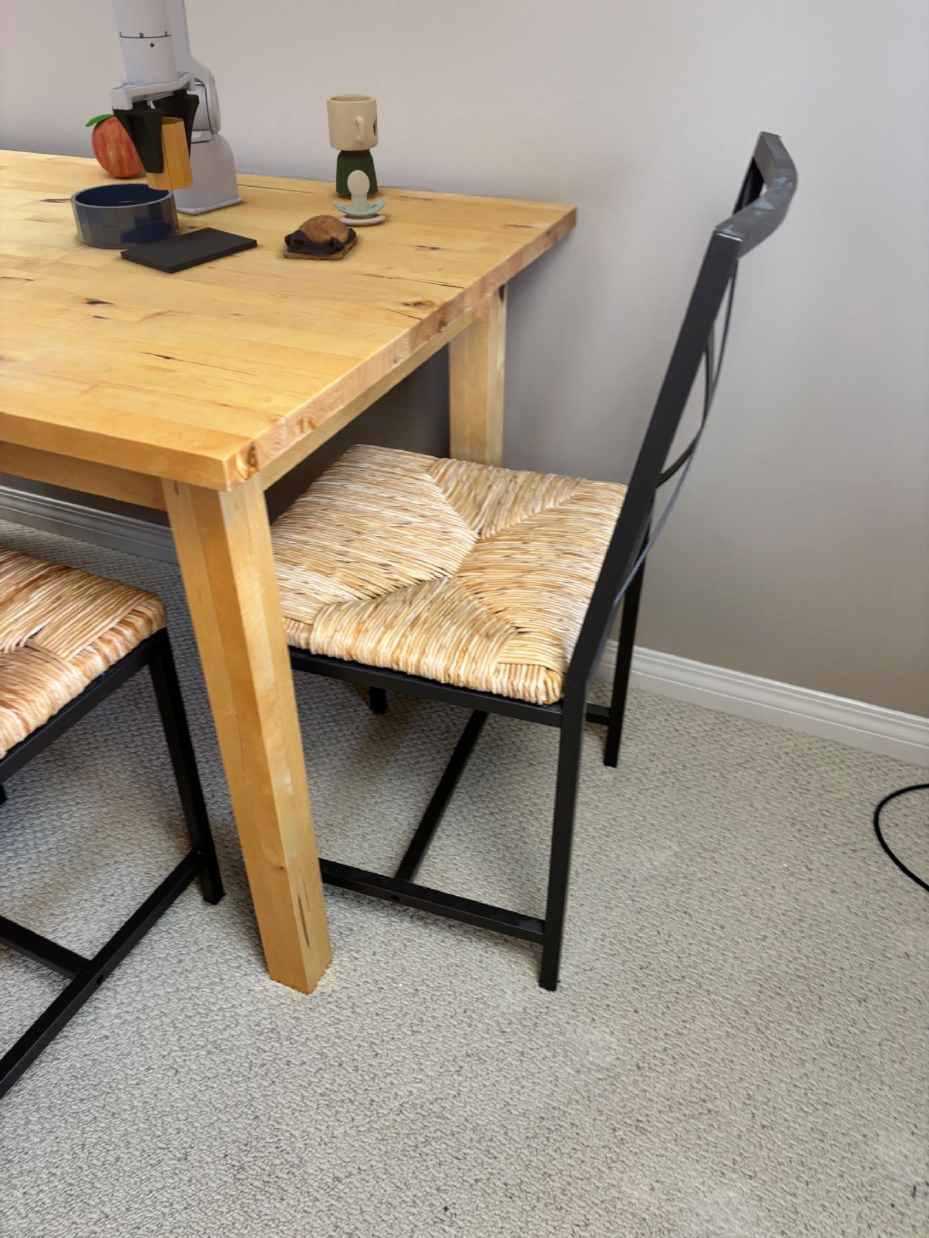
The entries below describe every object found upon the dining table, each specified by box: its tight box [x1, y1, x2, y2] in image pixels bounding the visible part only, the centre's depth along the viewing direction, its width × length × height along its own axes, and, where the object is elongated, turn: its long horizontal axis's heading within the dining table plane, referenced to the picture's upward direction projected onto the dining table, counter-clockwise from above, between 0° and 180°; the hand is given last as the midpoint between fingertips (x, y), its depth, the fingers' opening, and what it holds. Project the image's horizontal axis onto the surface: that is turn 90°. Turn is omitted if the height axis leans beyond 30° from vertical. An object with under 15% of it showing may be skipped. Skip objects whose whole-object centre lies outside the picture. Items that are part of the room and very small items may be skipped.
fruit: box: [84, 105, 145, 178], centre depth 147 cm, size 9×10×10 cm
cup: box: [145, 117, 193, 190], centre depth 113 cm, size 5×6×7 cm
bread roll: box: [283, 214, 358, 261], centre depth 120 cm, size 11×8×4 cm
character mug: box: [326, 93, 379, 196], centre depth 137 cm, size 11×7×13 cm, turn 22°
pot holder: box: [119, 226, 258, 274], centre depth 119 cm, size 14×10×1 cm
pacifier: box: [332, 170, 387, 226], centre depth 128 cm, size 7×6×6 cm
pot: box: [70, 182, 181, 250], centre depth 123 cm, size 13×13×5 cm
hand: (168, 167), depth 114 cm, fingers closed on cup, 5 cm apart
